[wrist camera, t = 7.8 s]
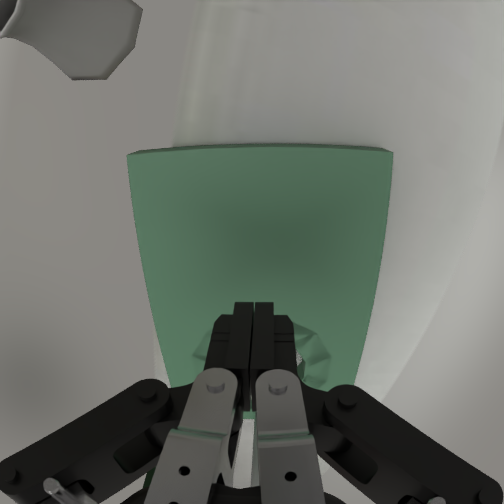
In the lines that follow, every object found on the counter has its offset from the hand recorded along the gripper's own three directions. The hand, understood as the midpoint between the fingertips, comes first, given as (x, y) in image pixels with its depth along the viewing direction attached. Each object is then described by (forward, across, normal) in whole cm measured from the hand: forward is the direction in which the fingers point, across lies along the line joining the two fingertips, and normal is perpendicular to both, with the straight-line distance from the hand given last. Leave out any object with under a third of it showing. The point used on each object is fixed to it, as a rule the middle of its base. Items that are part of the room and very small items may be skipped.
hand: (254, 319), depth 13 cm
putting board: (+10, 0, +7) cm, 12 cm away
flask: (+11, +11, -14) cm, 21 cm away
